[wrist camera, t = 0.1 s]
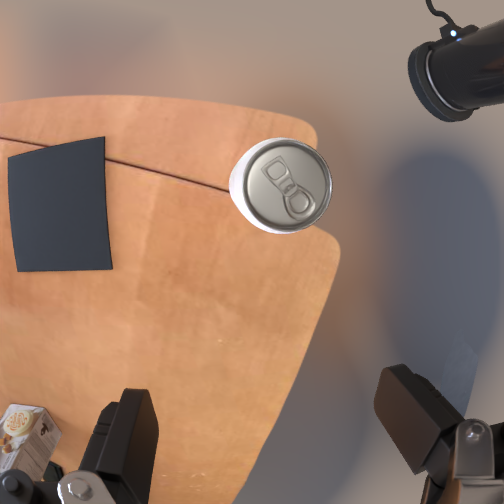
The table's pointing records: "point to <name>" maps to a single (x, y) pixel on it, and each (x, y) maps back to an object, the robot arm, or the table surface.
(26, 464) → the coffee box
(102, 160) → the desk mat
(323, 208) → the can
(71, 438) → the table surface
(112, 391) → the table surface
